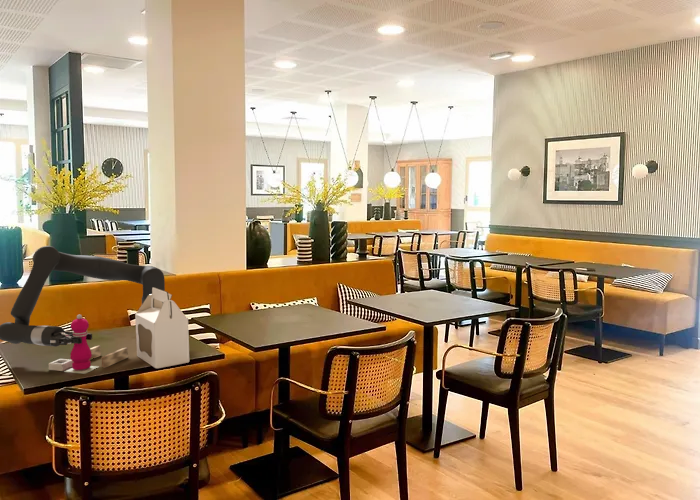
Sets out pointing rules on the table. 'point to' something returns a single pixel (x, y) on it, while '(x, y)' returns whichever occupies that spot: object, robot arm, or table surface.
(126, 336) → the table surface
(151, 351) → the gable box
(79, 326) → the pepper mill
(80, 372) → the sage pad
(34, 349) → the table surface
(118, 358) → the oak channel
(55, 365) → the box
